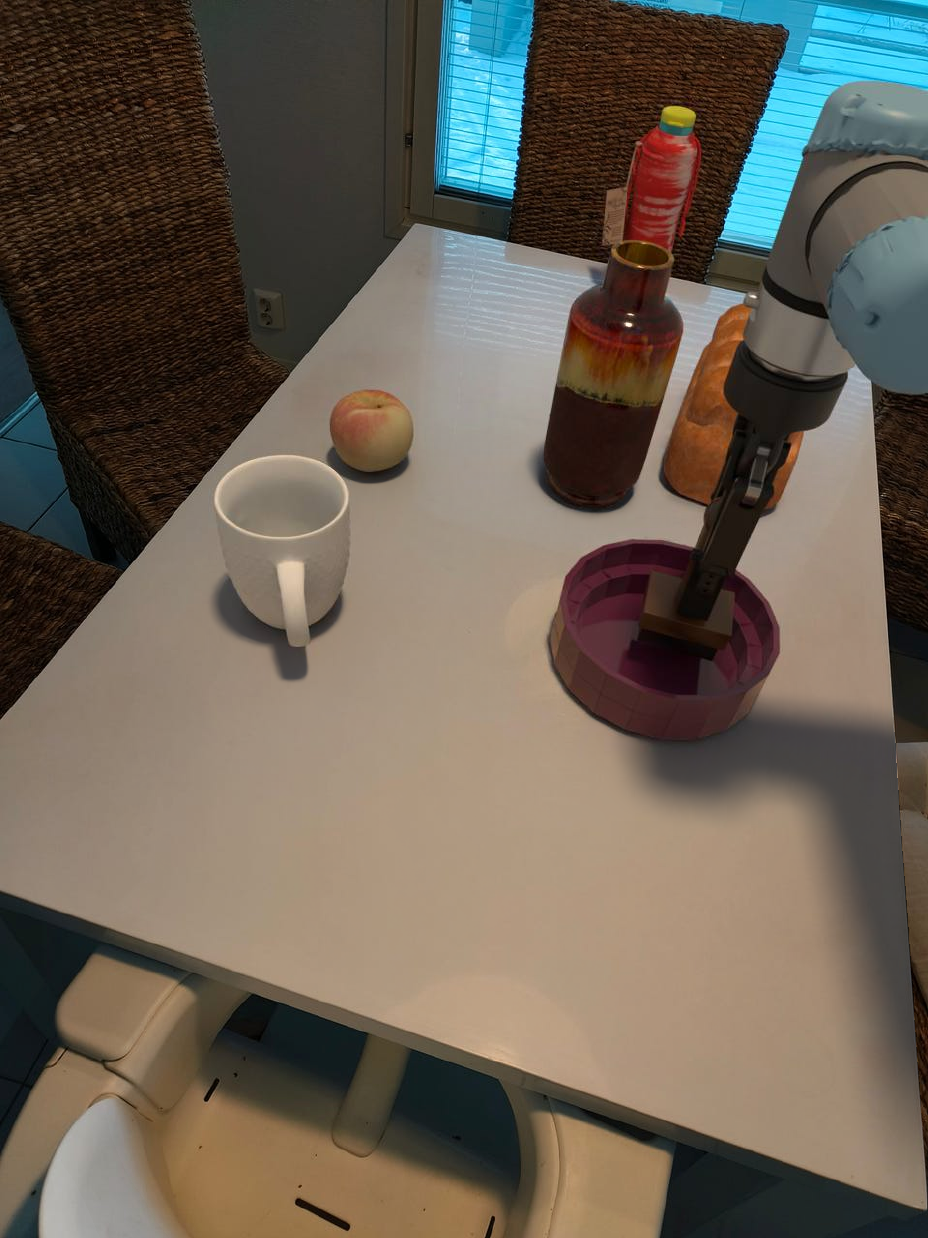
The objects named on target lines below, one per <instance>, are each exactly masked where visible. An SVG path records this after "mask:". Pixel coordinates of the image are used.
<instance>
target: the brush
mask: <svg viewBox="0 0 928 1238" xmlns="http://www.w3.org/2000/svg"><path fill="white" fill-rule="evenodd" d="M721 499H722V496H721V497H718V498H716V499H714V500H713V501H712V502H711V503H710V504H709V505H708V504H707V506H706V507H705V509H704V512H703V517H702V521H703V525H704V528H703V527H702V528H703V530H702V529H701V530H702V532H701V531H700V533H701V535H700V534H699V535H700V537H699V536H698V538H699V540H698V539H697V541H698V542H697V541H696V543H697V544H696V543H695V546H696V547H695V546H694V548H695V549H697V550H701V551H702V550H703V547H704V545H705V542H706V539H707V536H708V534H709V531H710V528H711V526H712V523H713V520H714V518H715V515H716V512H717V509H718V507H719V504H720V501H721ZM694 562H695V561H694V560H690V561H689V564H688V566H687V568H686V571H685V573H684V576H683V578H679V577H675V576H671V575H668V574H664V573H660V572H657V571H653V570H652V571H651V573H650V575H649V578H648V581H647V583H646V587H645V592H644V597H643V602H642V608H641V613H640V618H639V624H638V627H639V632H638V637H637V640H638V641H641V642H645V643H648V644H652V645H655V646H659V647H662V648H666V649H670V650H673V651H677V652H680V653H684V654H687V655H691V656H695V657H698V658H702V659H705V660H709V661H713V659H714V657H715V655H716V653H717V651H718V649H719V650H722V651H724V650H725V648H726V646H727V644H728V642H729V640H730V638H731V635H732V622H733V610H734V597H735V593H734V592H731V591H727V590H723V589H721V591H720V593H719V596H718V598H717V600H716V603H715V605H714V607H713V609H712V612H711V614H710V616H709V619H708V621H705V620H701V619H698V618H694V617H690V616H687V615H683V614H680V613H676V610H677V606H678V603H679V601H680V598H681V596H682V593H683V590H684V588H685V585H686V583H687V580H688V578H689V575H690V572H691V570H692V567H693V565H694Z"/></svg>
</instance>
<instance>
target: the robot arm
mask: <svg viewBox="0 0 928 1238" xmlns="http://www.w3.org/2000/svg"><path fill="white" fill-rule="evenodd" d="M801 157H802V159H801V162H800V165H799V168H798V171H797V173H796V177H795V179H794V183H793V185H792V188H791V191H790V193H789V197H788V200H787V203H786V206H785V209H784V211H783V214H782V217H781V221H780V223H779V227H778V228H777V232H776V235H775V238H774V239H773V244H772V247H771V249H770V252H769V255H768V258H767V261H766V264H765V266H764V267H765V268H764V269H763V273H762V276H761V281H760V282H759V285H758V292H756V291H755V292H753V291H748V292H747V293H745V295H744V298H743V301H742V303H744V305H745V306H746V307H748V308H751V311H750V314H749V316H748V319H747V322H746V325H745V328H744V331H743V339H744V340H742V341H741V342H740V343H739V344H738V346H737V348H736V351H735V354H734V357H733V359H732V362H731V365H730V368H729V371H728V374H727V376H726V379H725V382H724V387H723V391H724V396H725V398H726V400H727V402H728V404H729V405H730V406H731V407H732V408H733V409H734V410H735V411H736V412H737V413H738V414H737V417H736V419H735V422H734V427H733V432H732V435H733V436H732V438H731V441H730V443H729V446H728V449H727V454H726V459H725V462H724V465H723V467H722V470H721V473H720V476H719V478H718V481H717V484H716V487H715V489H714V492H713V493H712V494H711V497H710V498H711V499H710V500H711V502H712V501H713V500H714V499H716V498H718V497H721V496H722V499H721V501H720V504H719V507H718V509H717V512H716V515H715V518H714V520H713V523H712V526H711V528H710V531H709V534H708V536H707V539H706V542H705V545H704V547H703V550H702V551H701V550H697V549H695V547H696V544H697V542H698V540H699V537H700V535H701V532H702V530H703V528H704V524H703V525H702V527H701V530H700V533H699V535H698V538H697V541H696V543H695V546H694V549H692V553H691V556H690V560H694V561H695V562H694V565H693V567H692V570H691V572H690V575H689V578H688V580H687V583H686V585H685V588H684V590H683V593H682V596H681V598H680V601H679V603H678V606H677V610H676V613H680V614H683V615H687V616H690V617H694V618H698V619H701V620H705V621H708V619H709V616H710V614H711V612H712V609H713V607H714V605H715V603H716V600H717V598H718V596H719V593H720V591H721V589H722V586H723V584H724V582H725V579H726V578H729V579H731V578H732V577H733V575H734V574H735V571H736V570H737V568H738V565H739V563H740V561H741V559H742V556H743V554H744V552H745V550H746V548H747V546H748V544H749V542H750V540H751V538H752V535H753V533H754V531H755V529H756V527H757V525H758V522H759V520H760V518H761V516H762V514H763V512H764V511H765V510H766V509H765V507H766V506H767V504H768V503H769V501H770V499H771V498H773V496H774V492H775V491H774V489H775V487H774V485H772V484H773V482H774V479H775V477H776V474H777V472H778V470H779V468H781V467H782V466H783V465H784V464H785V462H786V459H787V457H788V455H789V452H790V449H791V444H792V443H791V442H787V440H788V438H789V436H790V434H791V433H795V432H800V431H804V432H807V431H811V430H816V429H818V428H819V427H821V426H822V425H824V424H826V422H828V420H829V419H830V418H831V415H832V414H833V411H834V409H835V407H836V404H837V402H838V401H839V398H840V396H841V394H842V392H843V390H844V388H845V385H846V383H847V382H848V379H849V372H848V371H850V370H851V369H854V368H855V365H856V367H857V368H858V370H859V371H860V373H861V374H862V375H863V376H864V377H865V378H867V380H869V381H870V382H871V383H873V384H875V385H876V386H878V387H880V388H881V389H885V390H888V391H891V392H893V393H898V394H903V395H923V394H928V90H926V89H922V88H920V87H915V86H913V85H912V86H911V85H906V84H901V83H895V82H888V81H879V80H857V81H851V82H847V83H844V84H842V85H840V86H839V87H837V88H836V89H834V90H833V91H832V92H831V93H830V94H829V96H828V97H827V98H826V99H825V101H824V104H823V106H822V108H821V110H820V113H819V116H818V117H817V120H816V122H815V125H814V128H813V130H812V132H811V134H810V137H809V139H808V141H807V144H806V145H805V146H803V148H802V151H801ZM764 509H765V510H764Z"/></svg>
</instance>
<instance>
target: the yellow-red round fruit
mask: <svg viewBox="0 0 928 1238" xmlns="http://www.w3.org/2000/svg"><path fill="white" fill-rule="evenodd" d="M329 433H330V438H331V441H332V444H333V446H334V448H335V451H336V452H337V454H338V456H339V458H340V459H341V460H342V461H343V462H344V463H345V464H346V465H348V466H349V467H351V468H353V469H355V470H358V471H361V472H367V473H372V472H379V471H384V470H387V469H391V468H392V467H394V466H396V465H398V464H400V463H401V462H402V461H403V460H404V459H405V458H406V456H407V455H408V454H409V451H410V450H411V448H412V444H413V441H414V422H413V418H412V415H411V412H410V410H409V409H408V407H407V406H406V405H405V404H404V403H403V401H401V400H400V398H398V397H397V396H395V395H394V394H393V393H390V392H387V391H384V390H382V389H381V390H380V389H361V390H360V389H359V390H357V391H354V392H351V393H349V394H347V395H345V396H343V397H342V398H341V399H339V400H338V401H337V402H336V404H335V405H334V407H333V409H332V411H331V414H330V418H329Z"/></svg>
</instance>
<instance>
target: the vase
mask: <svg viewBox="0 0 928 1238" xmlns="http://www.w3.org/2000/svg"><path fill="white" fill-rule="evenodd" d="M674 261H675V256H674V255H673V254H672V252H671V253H670V251H668V250H667V249H665V248H664V247H662V246H659V245H657V244H654V243H651V242H646V241H640V240H625V241H621V242H618V243H616V244H614V245H613V246H611V249H610V251H609V255H608V260H607V264H606V267H605V273H604V277H603V281H602V283H600V284H596V285H594V286H592V287H590V288H588V289H586V290H585V291H583V292H582V293H581V294H580V295H578V297H576V299H575V300H573V303H572V304H571V306H570V309H569V314H568V319H567V322H566V328H565V332H564V337H563V343H562V348H561V354H560V359H559V365H558V368H557V369H558V370H557V375H556V379H555V385H554V391H553V396H552V401H551V407H550V413H549V418H548V423H547V427H546V434H545V439H544V446H543V452H542V461H543V464H544V468H545V469H546V471H547V477H546V478H547V483H548V486H549V488H550V490H551V491H552V493H553V494H555V495H556V496H557V497H558V498H559V499H561V500H563V501H565V502H566V503H568V504H571V505H573V506H576V507H580V508H585V509H604V508H609V507H612V506H615V505H616V504H618V503H620V502H621V501H622V500H623V499H624V498H625V497H626V493H627V492H628V491H627V490H629V489H630V488H632V487H633V486H634V485H635V484H637V482H638V480H639V479H640V477H641V473H642V471H643V468H644V465H645V463H646V460H647V459H646V458H647V456H648V453H649V450H650V446H651V443H652V439H653V436H654V432H655V429H656V426H657V423H658V420H659V417H660V413H661V410H662V407H663V403H664V400H665V396H666V392H667V389H668V386H669V382H670V380H671V376H672V373H673V369H674V367H675V363H676V360H677V356H678V352H679V349H680V345H681V342H682V337H683V334H684V321H683V318H682V315H681V313H680V310H679V309H678V308H677V306H676V305H675V303H674V302H673V301H672V299H670V298H668V297H667V296H666V294H667V292H668V291H667V290H668V288H669V282H670V278H671V275H672V271H673V267H674Z"/></svg>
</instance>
